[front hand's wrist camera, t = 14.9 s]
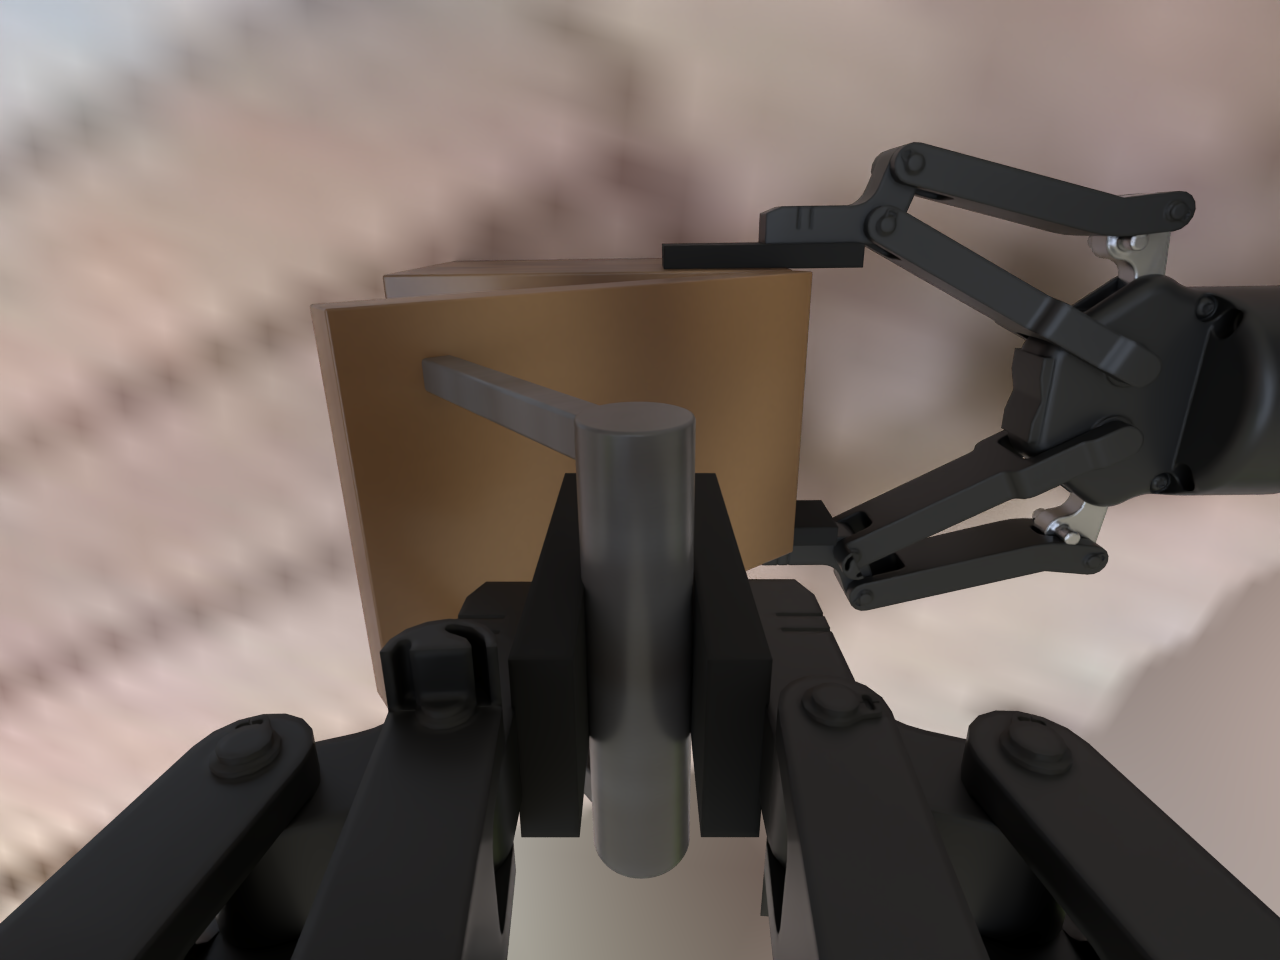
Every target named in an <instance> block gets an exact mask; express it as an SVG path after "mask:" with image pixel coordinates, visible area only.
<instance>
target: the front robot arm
mask: <svg viewBox="0 0 1280 960" xmlns="http://www.w3.org/2000/svg"><path fill="white" fill-rule="evenodd" d="M380 659H381V665H382V672H383V679H384V685H385V692H386V698H387V705H388V715H387V717H386V720H385V722H384V724H382V725H379V726H377V727H375V728H372V729H369V730H365V731H362V732H358V733H355V734H350V735H346V736H341V737H336V738H332V739H327V740H323V741H318V742H315V740H314V735H313V730H312V728H311V727H310V726H309V725H308V724H307V723H306V722H305V721H304V720H303V719H302V718H299V717H295V716H292V715H289V714H262V715H258V716H253V717H250V718H245V719H242V720H238V721H236V722H234V723H231V724H229V725H227V726H225V727H223V728H220V729H218V730H216V731H214V732H212V733H211V734H210V735H208V736H207V737H205V738H204V739H203V740H201V741H200V742H199V743H197V744H196V745H194V746H193V747H192V748H191V749H190V750H189V751H188V752H186V753H185V754H184V755H183V756H182V757H181V758H180V759H179V760H178V761H177V762H176V763H174V764H173V765H172V766H171V767H170V768H169V769H168V770H167V771H166V772H165V773H164V774H163V775H161V776H160V777H159V778H158V779H157V780H156V781H155V782H154V783H153V784H152V785H151V786H149V787H148V788H147V789H146V790H145V791H144V792H143V793H142V794H141V795H140V796H139V797H137V798H136V799H135V800H134V801H133V802H132V803H131V804H130V805H129V806H128V807H127V808H126V809H124V810H123V811H122V812H121V813H120V814H119V815H118V816H117V817H116V818H115V819H114V820H112V821H111V822H110V823H109V824H108V825H107V826H106V827H105V828H104V829H103V830H102V831H100V832H99V833H98V834H97V835H96V836H95V837H94V838H93V839H92V840H91V841H90V842H89V843H87V844H86V845H85V846H84V847H83V848H82V849H81V850H80V851H79V852H78V853H77V854H75V855H74V856H73V857H72V858H71V859H70V860H69V861H68V862H67V863H66V864H65V865H63V866H62V867H61V868H60V869H59V870H58V871H57V872H56V873H55V874H54V875H53V876H51V877H50V878H49V879H48V880H47V881H46V882H45V883H44V884H43V885H42V886H41V887H40V888H38V889H37V890H36V891H35V892H34V893H33V894H32V895H31V896H30V897H29V898H28V899H26V900H25V901H24V902H23V903H22V904H21V905H20V906H19V907H18V908H17V909H16V910H14V911H13V912H12V913H11V914H10V915H9V916H8V917H7V918H6V919H5V920H4V921H3V922H1V923H0V960H507V955H508V945H509V935H510V925H511V915H512V905H513V895H514V884H515V875H516V868H515V855H514V843H513V840H514V835H515V831H516V826H517V821H518V816H519V811H520V824H521V837H580V827H581V817H582V807H583V797H584V787H585V777H586V767H587V757H588V746H589V736H590V734H589V706H588V678H587V651H586V623H585V595H584V584H583V582H582V579H581V564H580V543H579V523H578V502H577V481H576V473H565V475H564V478H563V481H562V485H561V488H560V491H559V494H558V498H557V501H556V504H555V507H554V511H553V514H552V517H551V520H550V524H549V527H548V530H547V533H546V537H545V540H544V543H543V547H542V550H541V553H540V556H539V560H538V563H537V566H536V569H535V573H534V576H533V579H532V582H485V583H484V584H482V585H481V586H480V587H479V588H477V589H476V590H475V591H474V592H472V593H471V594H470V595H468V596H467V597H466V599H465V601H464V603H463V606H462V608H461V610H460V612H459V614H458V619H443V620H436V621H429V622H425V623H422V624H419V625H416V626H413V627H410V628H407V629H405V630H404V631H402V632H401V633H399V634H397V635H396V636H394V637H393V638H391V639H390V640H389V641H388V642H387V643H386V645H385V646H384V647H383V648H382V649H381V651H380ZM691 741H692V751H693V761H694V771H695V781H696V791H697V801H698V811H699V822H700V831H701V837H759V830H760V818H761V810H762V815H763V820H764V824H765V829H766V834H767V843H766V855H765V867H764V879H763V892H762V903H761V916H769V924H770V934H771V944H772V954H773V960H1280V917H1279V916H1277V915H1276V914H1275V913H1274V912H1273V911H1272V910H1271V909H1270V908H1269V907H1268V906H1266V905H1265V904H1264V903H1263V902H1262V901H1261V900H1260V899H1259V898H1258V897H1257V896H1256V895H1254V894H1253V893H1252V892H1251V891H1250V890H1249V889H1248V888H1247V887H1246V886H1245V885H1243V884H1242V883H1241V882H1240V881H1239V880H1238V879H1237V878H1236V877H1235V876H1233V875H1232V874H1231V873H1230V872H1229V871H1228V870H1227V869H1226V868H1225V867H1224V866H1223V865H1221V864H1220V863H1219V862H1218V861H1217V860H1216V859H1215V858H1214V857H1213V856H1212V855H1211V854H1209V853H1208V852H1207V851H1206V850H1205V849H1204V848H1203V847H1202V846H1201V845H1200V844H1198V843H1197V842H1196V841H1195V840H1194V839H1193V838H1192V837H1191V836H1190V835H1189V834H1187V833H1186V832H1185V831H1184V830H1183V829H1182V828H1181V827H1180V826H1179V825H1178V824H1177V823H1175V822H1174V821H1173V820H1172V819H1171V818H1170V817H1169V816H1168V815H1167V814H1166V813H1164V812H1163V811H1162V810H1161V809H1160V808H1159V807H1158V806H1157V805H1156V804H1155V803H1153V802H1152V801H1151V800H1150V799H1149V798H1148V797H1147V796H1146V795H1145V794H1144V793H1142V792H1141V791H1140V790H1139V789H1138V788H1137V787H1136V786H1135V785H1134V784H1133V783H1132V782H1130V781H1129V780H1128V779H1127V778H1126V777H1125V776H1124V775H1123V774H1122V773H1121V772H1119V771H1118V770H1117V769H1116V768H1115V767H1114V766H1113V765H1112V764H1111V763H1110V762H1108V761H1107V760H1106V759H1105V758H1104V757H1103V756H1102V755H1101V754H1100V753H1099V752H1097V751H1096V750H1095V749H1094V748H1093V747H1092V746H1091V745H1090V744H1089V743H1087V742H1086V741H1085V740H1083V739H1082V738H1080V737H1079V736H1078V735H1076V734H1075V733H1073V732H1072V731H1071V730H1069V729H1068V728H1066V727H1063V726H1061V725H1059V724H1057V723H1055V722H1052V721H1050V720H1048V719H1046V718H1044V717H1040V716H1036V715H1033V714H1029V713H1024V712H1020V711H992V712H989V713H986V714H982V715H979V716H978V717H977V718H976V719H975V720H974V721H973V722H972V723H971V724H970V725H969V728H968V733H967V738H966V739H963V738H958V737H953V736H949V735H944V734H940V733H935V732H931V731H926V730H922V729H919V728H915V727H912V726H909V725H906V724H904V723H901V722H899V721H897V720H895V718H894V716H893V713H892V711H891V710H890V708H889V707H888V705H887V704H886V702H885V701H884V699H883V698H882V697H881V696H880V695H878V694H877V693H875V692H874V691H873V690H871V689H870V688H868V687H867V686H866V685H863V684H861V683H858V682H855V680H854V677H853V675H852V673H851V671H850V669H849V667H848V665H847V663H846V661H845V658H844V656H843V654H842V652H841V650H840V648H839V646H838V644H837V642H836V639H835V637H834V635H833V633H832V632H830V627H829V625H828V623H827V620H826V618H825V616H823V612H822V610H821V608H820V606H819V604H818V602H817V599H816V597H815V595H814V594H813V593H811V592H810V591H809V590H808V589H806V588H805V587H804V586H803V585H801V584H800V583H799V582H797V581H796V580H795V579H748V577H747V574H746V571H745V567H744V564H743V561H742V558H741V554H740V551H739V548H738V545H737V541H736V538H735V535H734V532H733V528H732V525H731V522H730V518H729V515H728V512H727V509H726V505H725V502H724V499H723V496H722V492H721V489H720V486H719V483H718V479H717V476H716V473H695V506H694V571H693V637H692V701H691Z"/></svg>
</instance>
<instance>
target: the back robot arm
mask: <svg viewBox="0 0 1280 960" xmlns="http://www.w3.org/2000/svg"><path fill="white" fill-rule="evenodd" d="M871 174H872V175H871V178H870V180H869V182H868V185H867V187H866V189H865V191H864V193H863V195H862V196H861V197H860V198H859V199H858V200H857V201H856V202H854V203H853V204H850V205H842V206H781V207H774V208H772V209H770V210H767V211H765V212H763V213H760V222H759V242H756V243H683V244H662V266H663V268H664V269H736V268H858V267H863V260H864V249H865V247H867V248H869V249H870V250H872V251H874V252H876V253H877V254H879V255H881V256H883V257H884V258H886V259H888V260H890V261H891V262H893V263H895V264H897V265H898V266H900V267H902V268H904V269H905V270H907V271H909V272H911V273H912V274H914V275H916V276H918V277H919V278H921V279H923V280H925V281H926V282H928V283H930V284H932V285H933V286H935V287H937V288H939V289H940V290H942V291H944V292H946V293H947V294H949V295H951V296H953V297H954V298H956V299H958V300H960V301H961V302H963V303H965V304H967V305H968V306H970V307H972V308H974V309H975V310H977V311H979V312H981V313H982V314H984V315H986V316H988V317H989V318H991V319H993V320H994V321H995V322H996V323H997V324H999V325H1000V326H1002V327H1004V328H1005V329H1007V330H1009V331H1011V332H1012V333H1014V334H1016V335H1018V336H1019V337H1021V338H1023V339H1025V340H1026V341H1025V343H1024V344H1023V347H1022V348H1015V352H1014V357H1013V363H1012V377H1013V391H1012V393H1011V396H1010V398H1009V400H1008V402H1007V405H1006V407H1005V409H1004V415H1003V421H1002V427H1001V428H1002V429H1004V430H1003V431H1001V432H999V433H997V434H995V435H993V436H990V437H988V438H986V439H984V440H982V441H980V442H979V443H977V444H976V445H975V448H974V450H973V451H972V452H970V453H968V454H966V455H964V456H962V457H960V458H958V459H956V460H953V461H951V462H949V463H947V464H945V465H943V466H941V467H939V468H937V469H934V470H932V471H930V472H928V473H926V474H924V475H922V476H920V477H918V478H915V479H913V480H911V481H909V482H907V483H905V484H903V485H901V486H899V487H896V488H894V489H892V490H890V491H888V492H886V493H884V494H882V495H880V496H878V497H875V498H873V499H871V500H869V501H867V502H865V503H863V504H861V505H859V506H856V507H854V508H852V509H850V510H848V511H846V512H844V513H842V514H840V515H837V516H835V517H833V518H832V516H831V515H830V513H829V512H828V510H827V508H826V507H825V505H824V504H823V502H822V501H821V500H796V511H795V526H794V540H793V551H792V552H791V553H788V554H786V555H783V556H781V557H779V558H776V559H774V560H771V561H769V562H766V563H764V564H762V565H787V564H788V565H828V566H831V567H833V568H834V574H835V576H836V578H837V580H838V582H839V583H840V585H841V587H842V589H843V591H844V593H845V595H846V596H847V598H848V600H849V602H850V604H851V606H853V607H854V608H855V609H857V610H860V611H865V610H871V609H875V608H880V607H885V606H889V605H894V604H898V603H903V602H907V601H912V600H916V599H921V598H925V597H930V596H934V595H939V594H943V593H948V592H952V591H957V590H961V589H966V588H970V587H975V586H979V585H984V584H988V583H993V582H997V581H1002V580H1006V579H1011V578H1015V577H1020V576H1024V575H1029V574H1033V573H1038V572H1042V571H1051V572H1063V573H1075V574H1087V575H1088V574H1095V573H1097V572H1099V571H1101V570H1102V569H1103V568H1104V567H1105V566H1106V564H1107V562H1108V554H1107V551H1106V550H1104V549H1103V548H1102V547H1101V546H1099V545H1098V544H1096V540H1097V537H1098V534H1099V531H1100V528H1101V526H1102V523H1103V520H1104V517H1105V514H1106V511H1107V508H1108V507H1109V506H1114V505H1117V504H1120V503H1122V502H1124V501H1126V500H1129V499H1131V498H1133V497H1136V496H1140V495H1144V494H1164V495H1263V494H1276V493H1280V286H1218V287H1185V286H1183V285H1181V284H1179V283H1178V282H1176V281H1175V280H1174V279H1172V278H1170V277H1167V276H1165V269H1166V262H1167V255H1168V248H1169V241H1170V234H1171V231H1176V230H1179V229H1181V228H1183V227H1184V226H1185V225H1187V224H1188V223H1189V221H1190V220H1191V219H1192V217H1193V215H1194V212H1195V209H1196V208H1195V200H1194V198H1193V196H1192V195H1191V194H1189V193H1187V192H1183V191H1173V192H1157V193H1141V194H1127V195H1119V196H1117V195H1113V194H1109V193H1105V192H1102V191H1098V190H1094V189H1091V188H1087V187H1083V186H1080V185H1076V184H1072V183H1069V182H1065V181H1061V180H1057V179H1054V178H1050V177H1046V176H1043V175H1039V174H1035V173H1032V172H1028V171H1024V170H1020V169H1017V168H1013V167H1009V166H1006V165H1002V164H998V163H995V162H991V161H987V160H983V159H980V158H976V157H972V156H969V155H965V154H961V153H958V152H954V151H950V150H947V149H943V148H939V147H935V146H932V145H928V144H924V143H919V142H913V143H909V144H906V145H903V146H900V147H896V148H893V149H890V150H887V151H884V152H882V153H880V154H879V155H878V156H877V157H876V158H875V160H874V162H873V164H872V169H871ZM914 196H917V197H921V198H925V199H928V200H932V201H936V202H940V203H943V204H947V205H951V206H955V207H959V208H962V209H966V210H970V211H974V212H978V213H981V214H985V215H989V216H993V217H996V218H1000V219H1004V220H1008V221H1012V222H1015V223H1019V224H1023V225H1027V226H1030V227H1034V228H1038V229H1042V230H1046V231H1049V232H1054V233H1059V234H1064V235H1078V236H1089V238H1088V245H1089V247H1090V248H1091V249H1092V252H1093V253H1094V254H1095V256H1097V257H1099V258H1103V259H1109V260H1111V261H1113V262H1114V263H1115V264H1116V266H1117V268H1118V276H1117V277H1115V278H1113V279H1111V280H1110V281H1108V282H1107V283H1105V284H1104V285H1102V286H1101V287H1099V288H1098V289H1096V290H1094V291H1093V292H1091V293H1090V294H1088V295H1087V296H1085V297H1084V298H1082V299H1081V300H1079V301H1078V302H1076V303H1075V304H1073V305H1072V306H1071V305H1069V304H1067V303H1064V302H1062V301H1060V300H1057V299H1054V298H1052V297H1050V296H1048V295H1046V294H1045V293H1043V292H1041V291H1039V290H1038V289H1036V288H1034V287H1033V286H1031V285H1029V284H1028V283H1026V282H1024V281H1022V280H1021V279H1019V278H1017V277H1016V276H1014V275H1012V274H1010V273H1009V272H1007V271H1005V270H1004V269H1002V268H1000V267H999V266H997V265H995V264H993V263H992V262H990V261H988V260H987V259H985V258H983V257H981V256H980V255H978V254H976V253H975V252H973V251H971V250H970V249H968V248H966V247H964V246H963V245H961V244H959V243H958V242H956V241H954V240H952V239H951V238H949V237H947V236H946V235H944V234H942V233H941V232H939V231H937V230H935V229H934V228H932V227H930V226H929V225H927V224H925V223H923V222H922V221H920V220H918V219H917V218H915V217H913V216H912V215H910V214H908V213H906V212H907V210H908V208H909V206H910V204H911V201H912V199H913V197H914ZM1023 457H1025V458H1026V459H1024V458H1023ZM1059 485H1061V486H1062V487H1063V488H1065V489H1066V490H1067V491H1069V492H1070V496H1069V498H1068V499H1067V500H1066V502H1065V503H1063V504H1062V505H1060V506H1058V507H1055V508H1049V509H1043V508H1039V509H1037V510H1035V511H1034V513H1033V514H1032V518H1033V519H1031V518H1019V519H1008V520H1003V521H998V522H993V523H989V524H985V525H980V526H976V527H972V528H967V529H963V530H959V531H954V532H950V533H945V534H941V535H937V536H932V535H934V534H936V533H938V532H940V531H942V530H945V529H947V528H949V527H951V526H953V525H956V524H958V523H960V522H962V521H964V520H967V519H969V518H971V517H973V516H975V515H978V514H980V513H982V512H984V511H986V510H988V509H991V508H993V507H995V506H997V505H999V504H1002V503H1004V502H1006V501H1008V500H1011V499H1015V498H1019V499H1027V498H1032V497H1035V496H1037V495H1039V494H1042V493H1044V492H1046V491H1048V490H1050V489H1053V488H1055V487H1057V486H1059ZM929 536H932V537H929ZM927 537H928V538H927Z"/></svg>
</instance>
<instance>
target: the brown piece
mask: <svg viewBox="0 0 1280 960" xmlns="http://www.w3.org/2000/svg"><path fill="white" fill-rule="evenodd" d="M811 285H812V272H808V271H790V270H778V271H764V272H750V273H736V274H722V275H708V276H694V277H680V278H667V279H653V280H639V281H625V282H611V283H597V284H583V285H569V286H555V287H541V288H528V289H514V290H500V291H486V292H472V293H458V294H444V295H430V296H416V297H402V298H389V299H375V300H361V301H347V302H333V303H319V304H311V305H310V310H311V316H312V322H313V327H314V333H315V339H316V344H317V350H318V356H319V362H320V367H321V373H322V379H323V384H324V390H325V396H326V401H327V407H328V413H329V419H330V424H331V430H332V436H333V441H334V447H335V453H336V458H337V464H338V470H339V476H340V481H341V487H342V493H343V498H344V504H345V510H346V515H347V521H348V527H349V533H350V538H351V544H352V550H353V555H354V561H355V567H356V572H357V578H358V584H359V590H360V595H361V601H362V607H363V612H364V618H365V624H366V629H367V635H368V641H369V647H370V652H371V658H372V664H373V669H374V675H375V681H376V686H377V692H378V693H379V695H380V696H381V698H382V700H383V701H384V703H385V704H386V706H387V707H388V705H387V698H386V692H385V685H384V679H383V672H382V665H381V659H380V651H381V649H382V648H383V647H384V646H385V645H386V643H387V642H388V641H389V640H390V639H391V638H393V637H394V636H396V635H397V634H399V633H401V632H402V631H404V630H405V629H407V628H410V627H413V626H416V625H419V624H422V623H425V622H429V621H436V620H443V619H458V614H459V612H460V610H461V608H462V606H463V603H464V601H465V599H466V597H467V596H468V595H470V594H471V593H472V592H474V591H475V590H476V589H477V588H479V587H480V586H481V585H482V584H484V583H485V582H532V579H533V576H534V573H535V569H536V566H537V563H538V560H539V556H540V553H541V550H542V547H543V543H544V540H545V537H546V533H547V530H548V527H549V524H550V520H551V517H552V514H553V511H554V507H555V504H556V501H557V498H558V494H559V491H560V488H561V485H562V481H563V478H564V475H565V473H576V481H577V502H578V523H579V543H580V564H581V579H582V582H583V584H584V595H585V623H586V651H587V678H588V706H589V734H590V736H589V746H588V757H587V767H586V777H585V787H584V794H585V795H586V796H587V797H588V798H589V800H590V801H591V802H592V811H593V832H594V844H595V848H596V851H597V853H598V855H599V857H600V858H601V860H602V861H603V862H604V863H605V864H606V865H607V866H608V867H609V868H610V869H612V870H613V871H615V872H616V873H619V874H621V875H623V876H627V877H631V878H652V877H656V876H659V875H662V874H664V873H666V872H668V871H670V870H671V869H673V868H674V867H675V866H676V865H677V864H678V863H679V862H680V861H681V860H682V858H683V857H684V855H685V853H686V851H687V848H688V845H689V833H690V768H691V701H692V637H693V571H694V506H695V473H716V476H717V479H718V483H719V486H720V489H721V492H722V496H723V499H724V502H725V505H726V509H727V512H728V515H729V518H730V522H731V525H732V528H733V532H734V535H735V538H736V541H737V545H738V548H739V551H740V554H741V558H742V561H743V564H744V567H745V571H747V570H750V569H752V568H754V567H757V566H759V565H762V564H764V563H766V562H769V561H771V560H774V559H776V558H779V557H781V556H783V555H786V554H788V553H791V552H792V551H793V540H794V526H795V511H796V497H797V483H798V469H799V455H800V441H801V426H802V412H803V398H804V384H805V370H806V355H807V341H808V327H809V313H810V299H811Z"/></svg>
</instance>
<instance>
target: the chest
mask: <svg viewBox="0 0 1280 960" xmlns="http://www.w3.org/2000/svg"><path fill="white" fill-rule="evenodd" d="M778 270H790V271H792V270H791V269H787V268H736V269H664V268H663V266H662V258H645V259H573V260H500V261H453V262H448V263H443V264H438V265H433V266H428V267H422V268H417V269H412V270H407V271H402V272H397V273H392V274H387V275H384V276H383V282H384V290H385V297H386V299H389V298H402V297H416V296H430V295H444V294H458V293H472V292H486V291H500V290H514V289H528V288H541V287H555V286H569V285H583V284H597V283H611V282H625V281H639V280H653V279H667V278H680V277H694V276H708V275H722V274H736V273H750V272H764V271H778Z"/></svg>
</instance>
